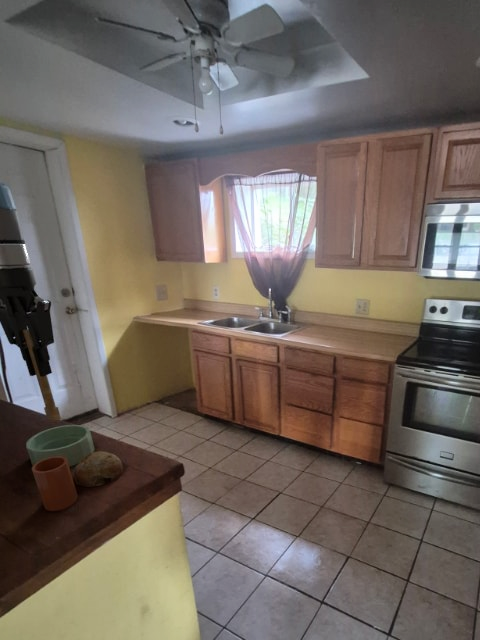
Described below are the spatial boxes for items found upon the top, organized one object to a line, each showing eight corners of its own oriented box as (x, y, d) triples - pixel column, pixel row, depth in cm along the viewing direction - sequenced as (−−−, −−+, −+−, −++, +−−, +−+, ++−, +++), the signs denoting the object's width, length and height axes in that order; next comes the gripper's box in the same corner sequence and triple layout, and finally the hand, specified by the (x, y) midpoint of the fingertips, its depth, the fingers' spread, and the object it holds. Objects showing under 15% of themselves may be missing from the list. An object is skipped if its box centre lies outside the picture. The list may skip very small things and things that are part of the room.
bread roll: (85, 505, 83) (83, 484, 78) (66, 472, 87) (63, 451, 82) (128, 485, 90) (130, 465, 85) (109, 456, 94) (109, 435, 89)
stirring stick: (45, 420, 90) (18, 330, 81) (52, 417, 92) (26, 328, 83) (56, 421, 89) (30, 331, 81) (62, 417, 91) (37, 329, 83)
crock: (38, 512, 76) (23, 471, 72) (60, 493, 81) (48, 454, 77) (64, 515, 75) (51, 474, 71) (84, 496, 80) (74, 457, 77)
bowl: (19, 469, 90) (11, 448, 88) (61, 442, 102) (55, 423, 100) (69, 475, 88) (63, 453, 86) (105, 446, 100) (101, 426, 98)
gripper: (55, 266, 79) (81, 370, 88) (-5, 265, 81) (26, 367, 90) (26, 268, 72) (57, 381, 81) (-39, 267, 74) (-2, 377, 84)
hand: (41, 374), depth 86 cm, fingers closed on stirring stick, 2 cm apart
